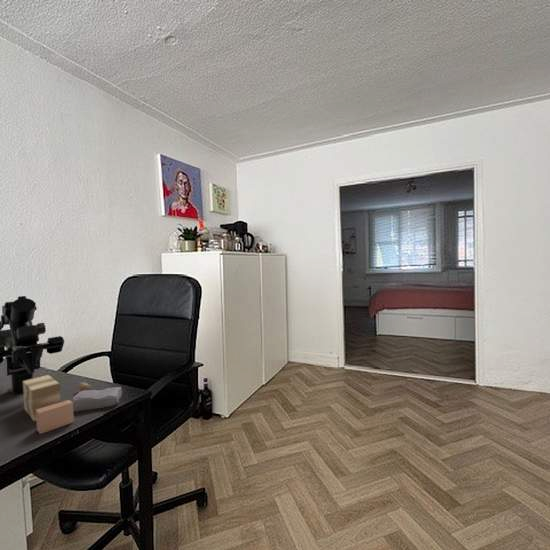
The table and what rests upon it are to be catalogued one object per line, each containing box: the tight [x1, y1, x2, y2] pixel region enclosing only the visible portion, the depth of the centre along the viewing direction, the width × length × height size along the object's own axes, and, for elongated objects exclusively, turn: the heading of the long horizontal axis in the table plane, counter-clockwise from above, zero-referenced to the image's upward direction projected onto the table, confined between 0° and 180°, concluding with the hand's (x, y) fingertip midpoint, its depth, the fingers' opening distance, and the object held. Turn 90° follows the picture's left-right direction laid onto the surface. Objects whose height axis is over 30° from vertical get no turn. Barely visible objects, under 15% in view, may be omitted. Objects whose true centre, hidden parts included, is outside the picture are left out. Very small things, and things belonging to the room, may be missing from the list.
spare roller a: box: [76, 381, 94, 393], centre depth 97 cm, size 5×3×3 cm, turn 49°
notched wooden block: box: [22, 374, 62, 422], centre depth 85 cm, size 12×6×8 cm, turn 49°
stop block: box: [35, 399, 75, 435], centre depth 76 cm, size 3×7×5 cm, turn 139°
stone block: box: [71, 386, 123, 413], centre depth 89 cm, size 12×5×10 cm
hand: (32, 372), depth 91 cm, fingers closed
